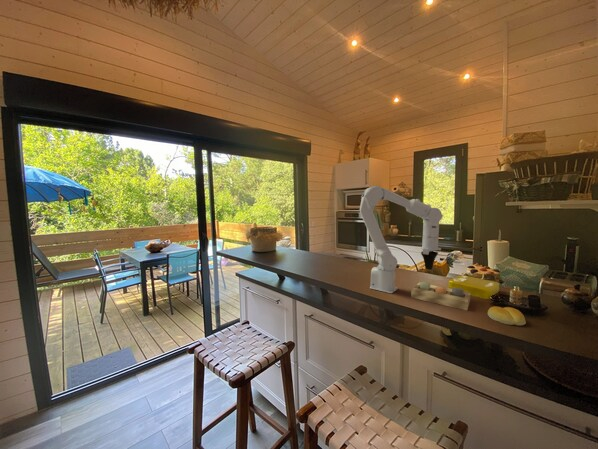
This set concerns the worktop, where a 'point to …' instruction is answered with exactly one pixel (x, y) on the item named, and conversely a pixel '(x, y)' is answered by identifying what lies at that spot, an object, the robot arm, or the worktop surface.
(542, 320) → the worktop surface
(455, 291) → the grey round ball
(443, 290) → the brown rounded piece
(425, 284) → the sage button
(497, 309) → the bread roll
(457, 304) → the button panel
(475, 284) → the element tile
